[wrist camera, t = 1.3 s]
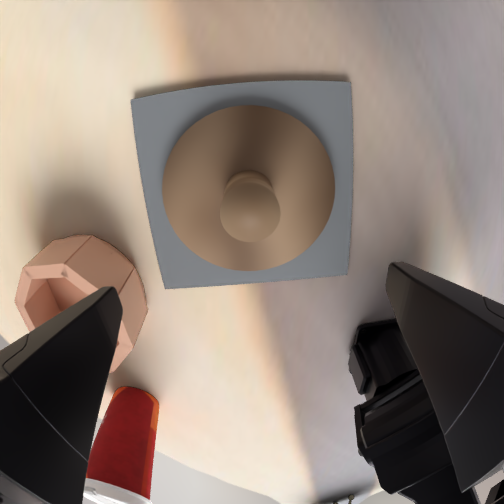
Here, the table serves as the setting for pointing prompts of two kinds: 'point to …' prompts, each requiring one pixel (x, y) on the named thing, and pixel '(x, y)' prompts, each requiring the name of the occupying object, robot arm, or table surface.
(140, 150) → the mat
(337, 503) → the tabletop clock
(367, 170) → the table surface
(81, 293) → the bowl
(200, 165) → the lid
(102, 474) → the paper cup
